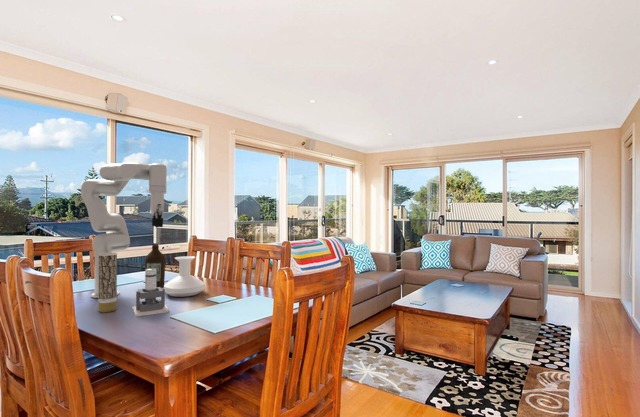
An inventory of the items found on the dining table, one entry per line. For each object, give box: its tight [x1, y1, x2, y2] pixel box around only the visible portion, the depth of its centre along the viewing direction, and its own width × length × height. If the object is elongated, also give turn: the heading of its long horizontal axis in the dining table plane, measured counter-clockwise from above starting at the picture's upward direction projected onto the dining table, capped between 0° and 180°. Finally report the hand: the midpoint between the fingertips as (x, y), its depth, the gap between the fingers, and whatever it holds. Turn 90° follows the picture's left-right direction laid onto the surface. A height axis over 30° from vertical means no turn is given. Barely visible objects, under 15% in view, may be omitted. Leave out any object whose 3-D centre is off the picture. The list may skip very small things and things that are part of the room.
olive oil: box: [144, 242, 167, 288], centre depth 201 cm, size 11×11×25 cm
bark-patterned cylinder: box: [97, 252, 118, 313], centre depth 156 cm, size 7×7×25 cm
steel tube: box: [144, 269, 157, 305], centre depth 157 cm, size 4×4×17 cm
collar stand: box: [132, 287, 170, 317], centre depth 157 cm, size 13×13×9 cm
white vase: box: [164, 255, 206, 298], centre depth 186 cm, size 20×20×19 cm
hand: (157, 226), depth 168 cm, fingers open, 9 cm apart
